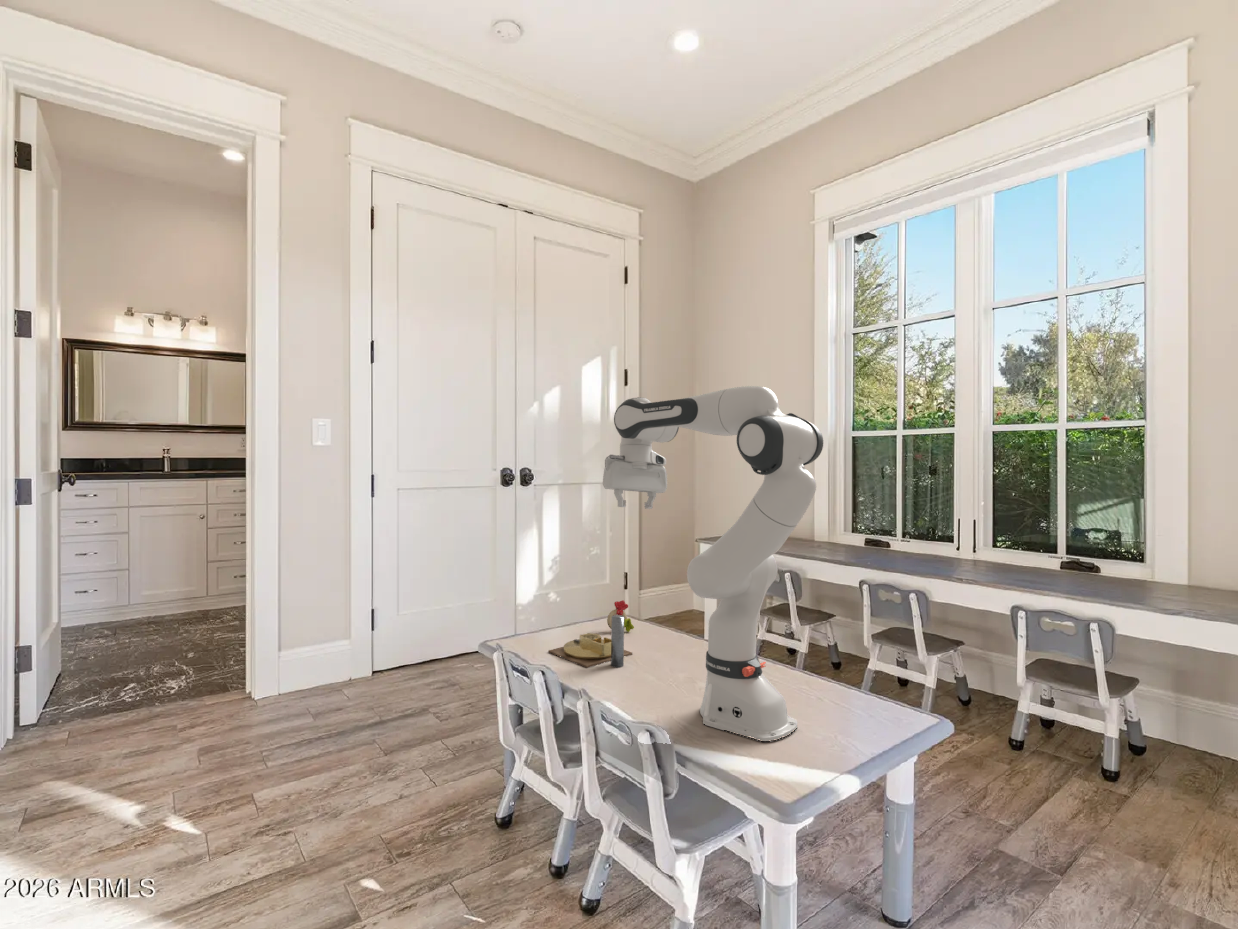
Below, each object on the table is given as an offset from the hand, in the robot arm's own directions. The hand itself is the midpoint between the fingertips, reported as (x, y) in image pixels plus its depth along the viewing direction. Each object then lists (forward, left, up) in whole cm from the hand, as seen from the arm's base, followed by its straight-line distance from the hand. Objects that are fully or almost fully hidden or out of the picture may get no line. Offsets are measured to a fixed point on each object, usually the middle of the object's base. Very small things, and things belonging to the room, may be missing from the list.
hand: (635, 507), depth 170 cm
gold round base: (+22, -4, -46) cm, 51 cm away
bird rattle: (+33, -27, -46) cm, 63 cm away
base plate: (+22, -4, -46) cm, 51 cm away
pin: (+9, -3, -46) cm, 47 cm away
